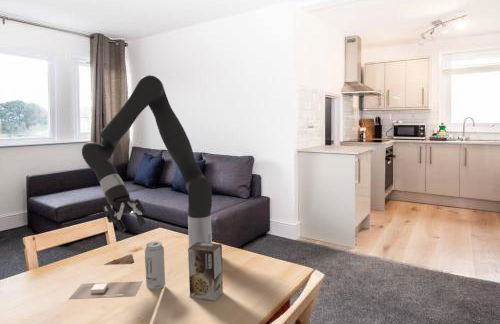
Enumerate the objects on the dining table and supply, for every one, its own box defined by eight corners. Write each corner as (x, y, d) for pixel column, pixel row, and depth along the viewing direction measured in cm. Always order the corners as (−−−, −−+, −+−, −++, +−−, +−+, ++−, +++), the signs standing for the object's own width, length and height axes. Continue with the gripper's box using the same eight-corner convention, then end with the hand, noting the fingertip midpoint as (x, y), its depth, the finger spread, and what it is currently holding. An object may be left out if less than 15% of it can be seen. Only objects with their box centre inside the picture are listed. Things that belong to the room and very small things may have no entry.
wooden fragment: (104, 285, 117) (103, 282, 117) (77, 281, 120) (76, 278, 120) (145, 256, 142) (145, 254, 142) (122, 254, 145) (122, 251, 144)
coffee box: (223, 292, 111) (222, 244, 109) (215, 302, 105) (214, 251, 103) (198, 287, 114) (197, 240, 112) (188, 297, 108) (187, 247, 106)
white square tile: (107, 286, 113) (107, 283, 113) (103, 292, 109) (103, 289, 109) (95, 287, 113) (95, 283, 113) (90, 293, 109) (90, 289, 109)
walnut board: (142, 284, 117) (142, 281, 117) (135, 299, 107) (135, 296, 107) (82, 286, 116) (81, 283, 115) (68, 302, 106) (68, 299, 106)
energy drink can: (142, 288, 114) (140, 245, 112) (156, 281, 119) (155, 239, 117) (154, 294, 110) (153, 249, 108) (169, 286, 115) (167, 243, 113)
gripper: (102, 185, 116) (122, 227, 112) (135, 181, 128) (155, 219, 124) (91, 197, 119) (110, 238, 115) (125, 192, 132) (143, 229, 127)
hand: (133, 228), depth 120 cm, fingers open, 8 cm apart
